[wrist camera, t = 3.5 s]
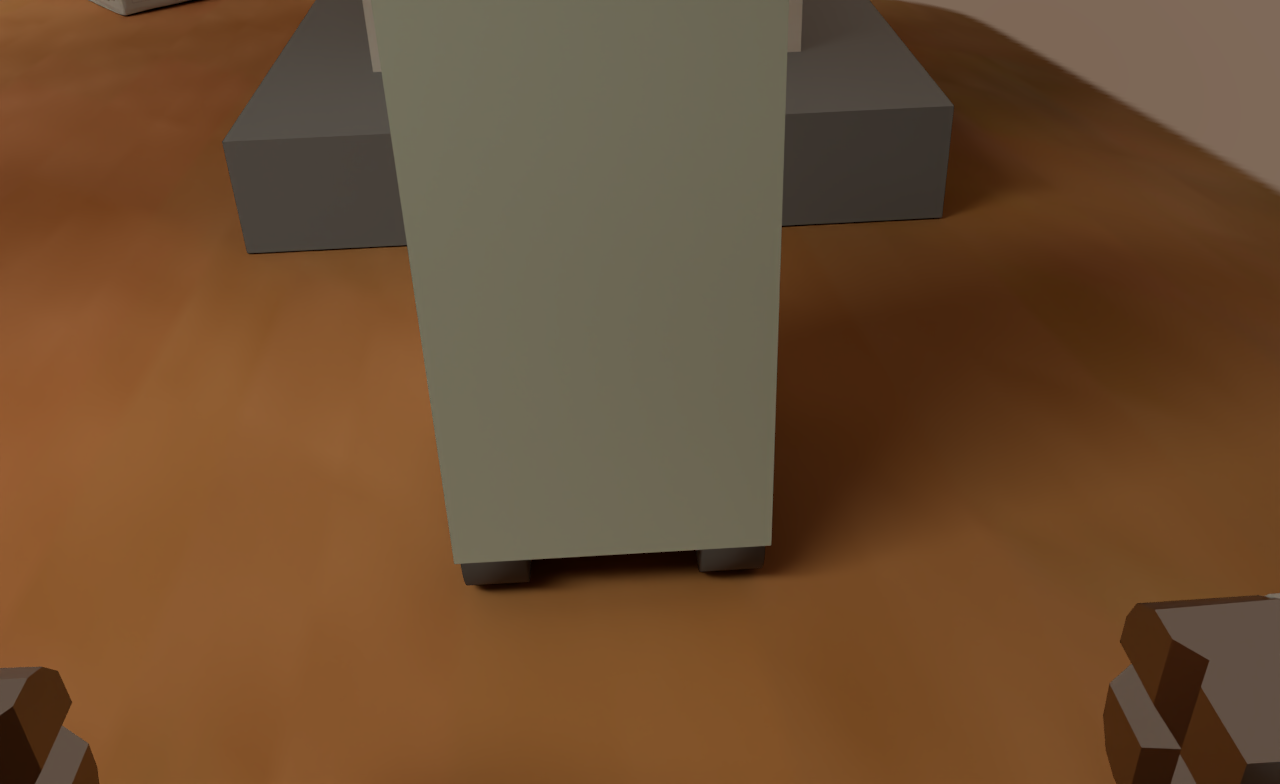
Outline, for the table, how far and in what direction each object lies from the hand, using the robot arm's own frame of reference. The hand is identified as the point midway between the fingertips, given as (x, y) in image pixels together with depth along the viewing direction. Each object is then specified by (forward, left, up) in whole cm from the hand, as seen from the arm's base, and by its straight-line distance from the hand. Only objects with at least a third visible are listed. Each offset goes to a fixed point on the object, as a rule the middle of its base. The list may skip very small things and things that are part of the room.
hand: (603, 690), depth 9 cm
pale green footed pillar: (0, +11, -6) cm, 13 cm away
